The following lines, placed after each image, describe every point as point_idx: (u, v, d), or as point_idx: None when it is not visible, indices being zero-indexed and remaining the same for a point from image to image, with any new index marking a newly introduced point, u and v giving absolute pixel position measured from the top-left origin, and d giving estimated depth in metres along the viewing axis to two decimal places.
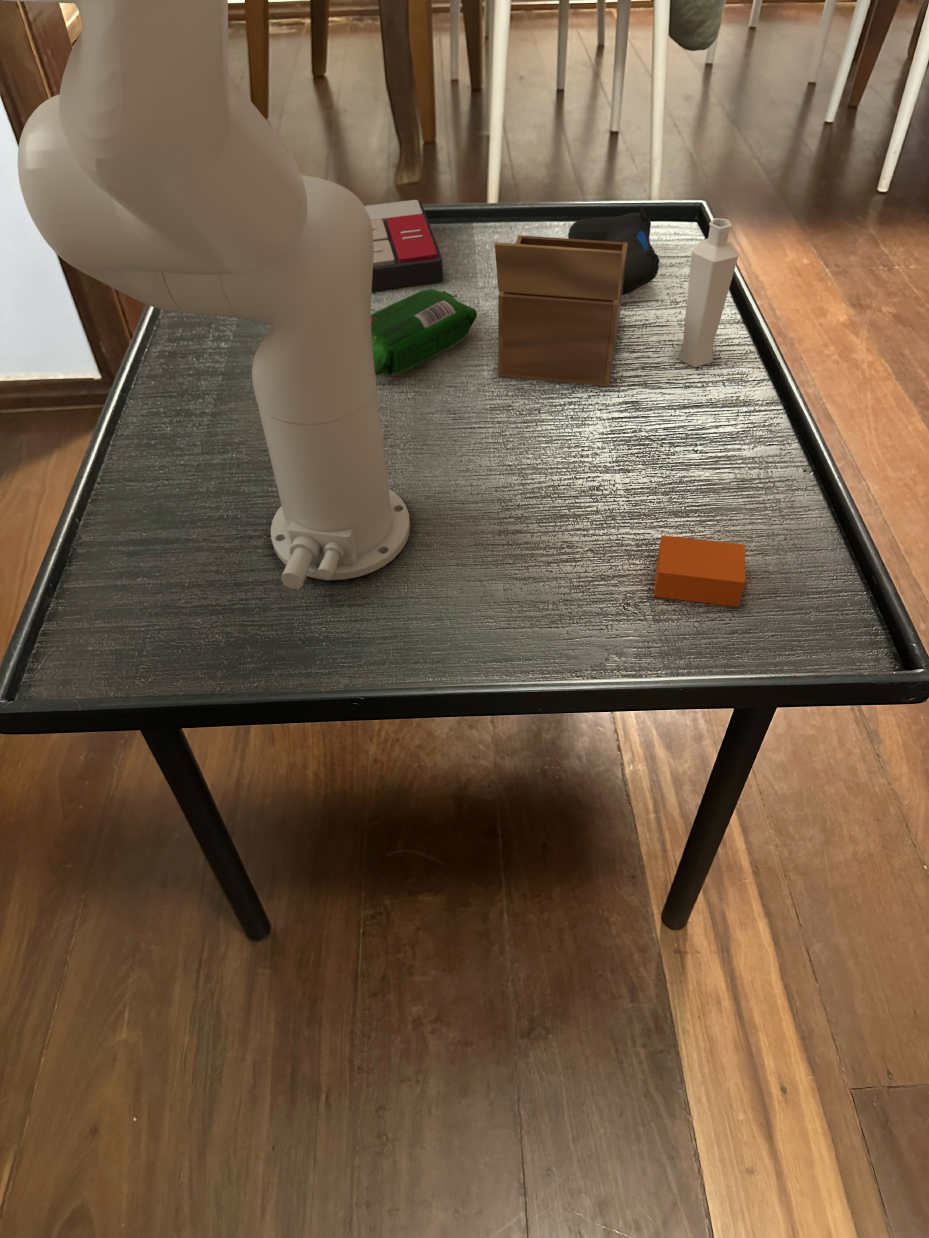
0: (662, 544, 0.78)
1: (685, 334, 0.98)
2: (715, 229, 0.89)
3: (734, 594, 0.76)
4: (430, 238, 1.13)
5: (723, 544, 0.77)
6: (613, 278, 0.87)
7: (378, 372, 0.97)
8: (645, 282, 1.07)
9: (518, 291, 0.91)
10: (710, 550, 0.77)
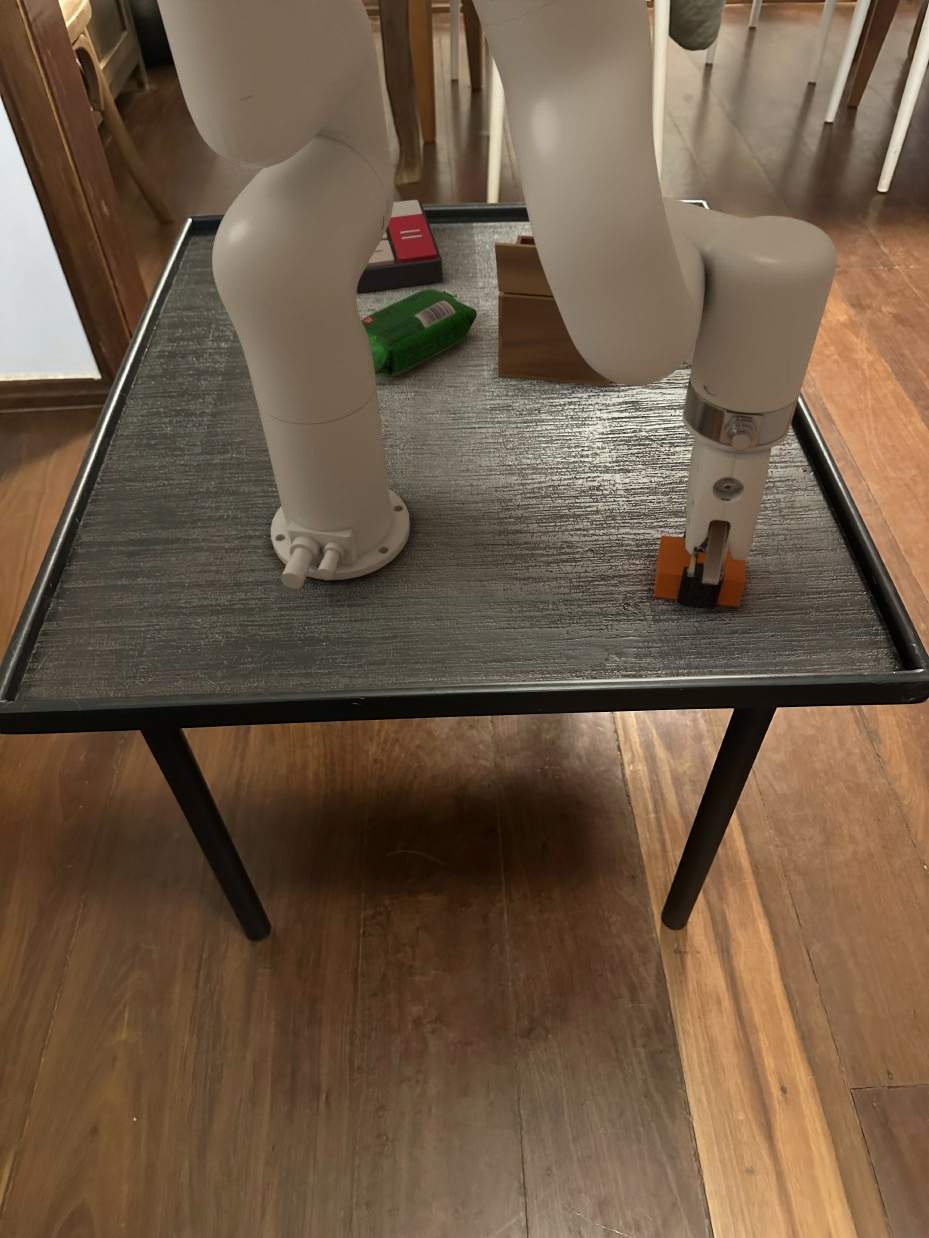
0: (662, 544, 0.78)
1: None
2: None
3: (734, 594, 0.76)
4: (430, 238, 1.13)
5: None
6: None
7: (378, 372, 0.97)
8: None
9: (518, 291, 0.91)
10: None
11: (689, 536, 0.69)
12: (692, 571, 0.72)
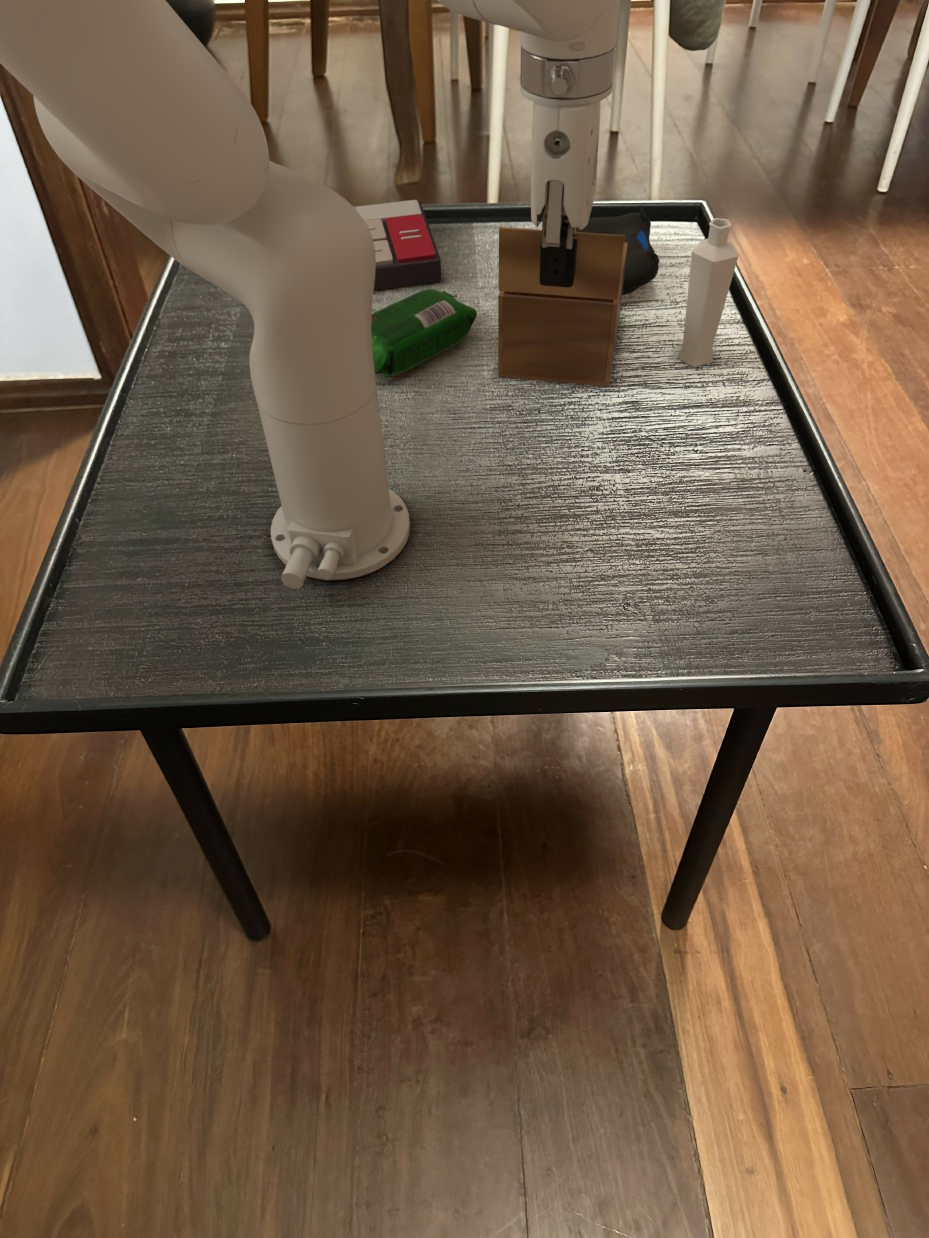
0: None
1: (685, 334, 0.98)
2: (715, 229, 0.89)
3: None
4: (429, 238, 1.13)
5: None
6: (614, 270, 0.88)
7: (378, 372, 0.97)
8: (645, 282, 1.07)
9: (518, 290, 0.91)
10: None
11: (532, 204, 0.78)
12: (545, 240, 0.83)
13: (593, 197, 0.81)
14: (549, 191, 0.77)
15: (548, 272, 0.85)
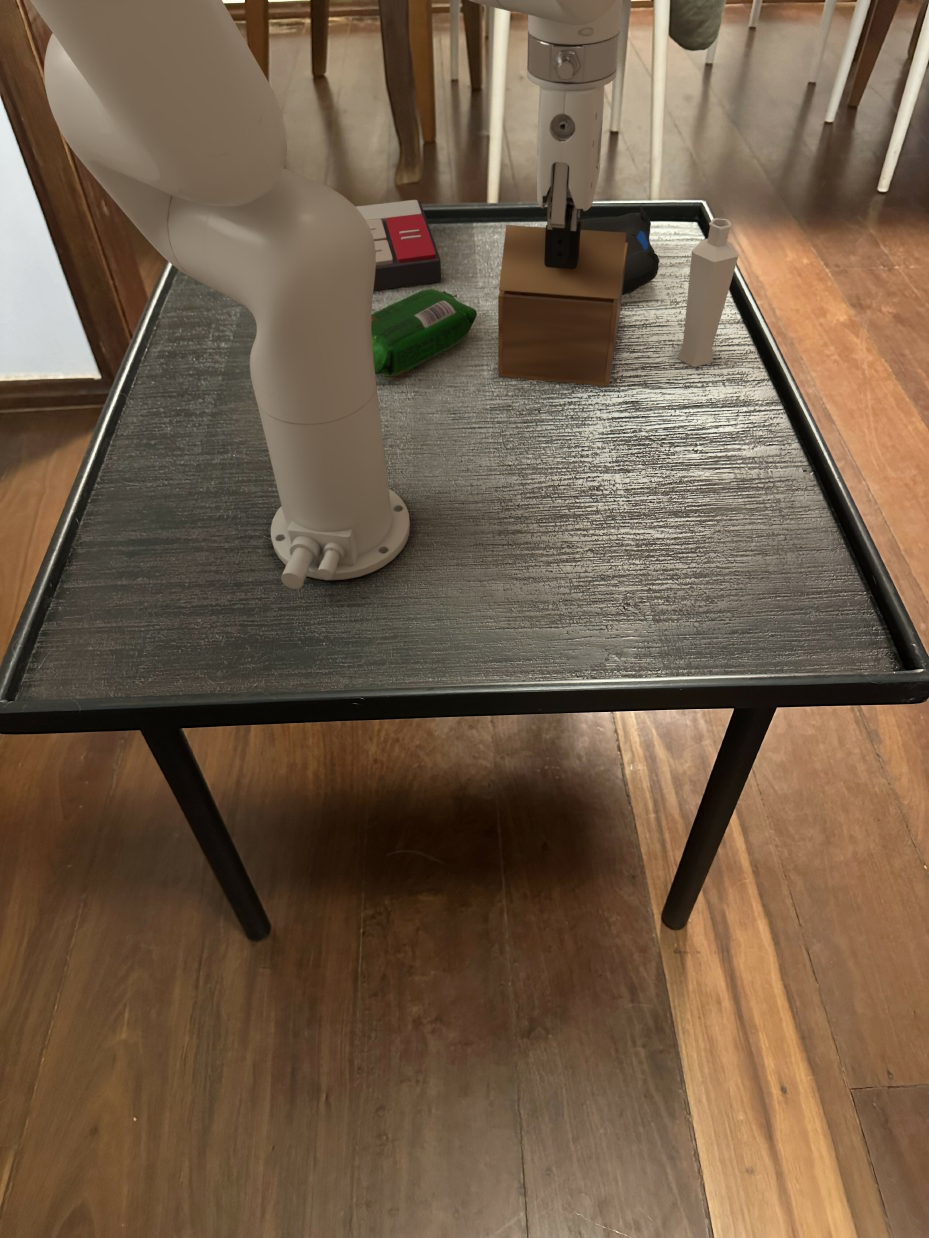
0: None
1: (685, 334, 0.98)
2: (715, 229, 0.89)
3: None
4: (429, 238, 1.13)
5: None
6: (615, 267, 0.90)
7: (378, 372, 0.97)
8: (645, 282, 1.07)
9: (518, 289, 0.91)
10: None
11: (538, 186, 0.80)
12: (550, 222, 0.85)
13: (597, 180, 0.84)
14: (554, 173, 0.79)
15: (553, 254, 0.88)
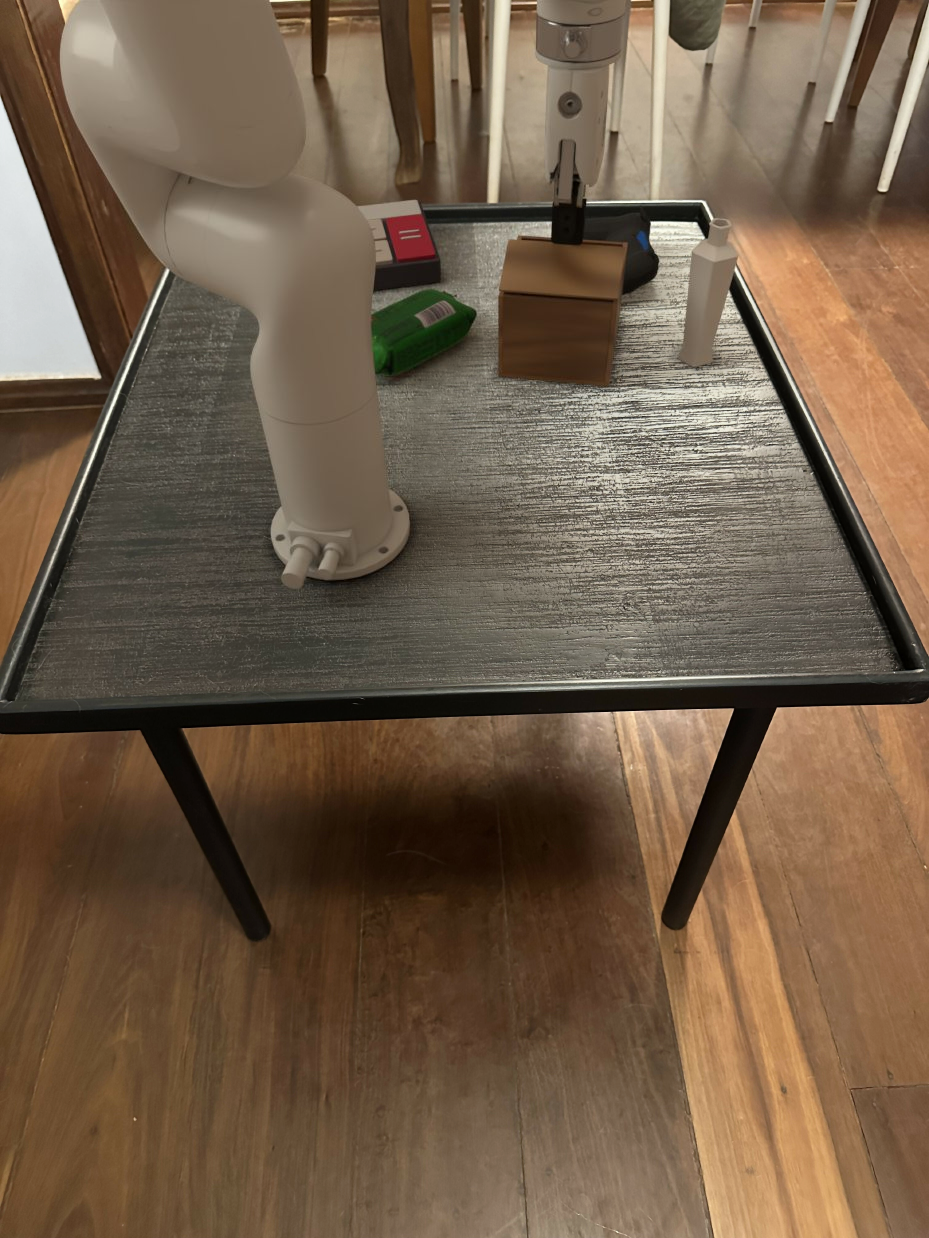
0: None
1: (685, 334, 0.98)
2: (715, 229, 0.89)
3: None
4: (429, 238, 1.13)
5: None
6: (615, 273, 0.91)
7: (378, 372, 0.97)
8: (645, 282, 1.07)
9: (518, 289, 0.92)
10: None
11: (545, 162, 0.83)
12: (557, 198, 0.89)
13: (602, 158, 0.87)
14: (562, 150, 0.83)
15: (559, 230, 0.91)
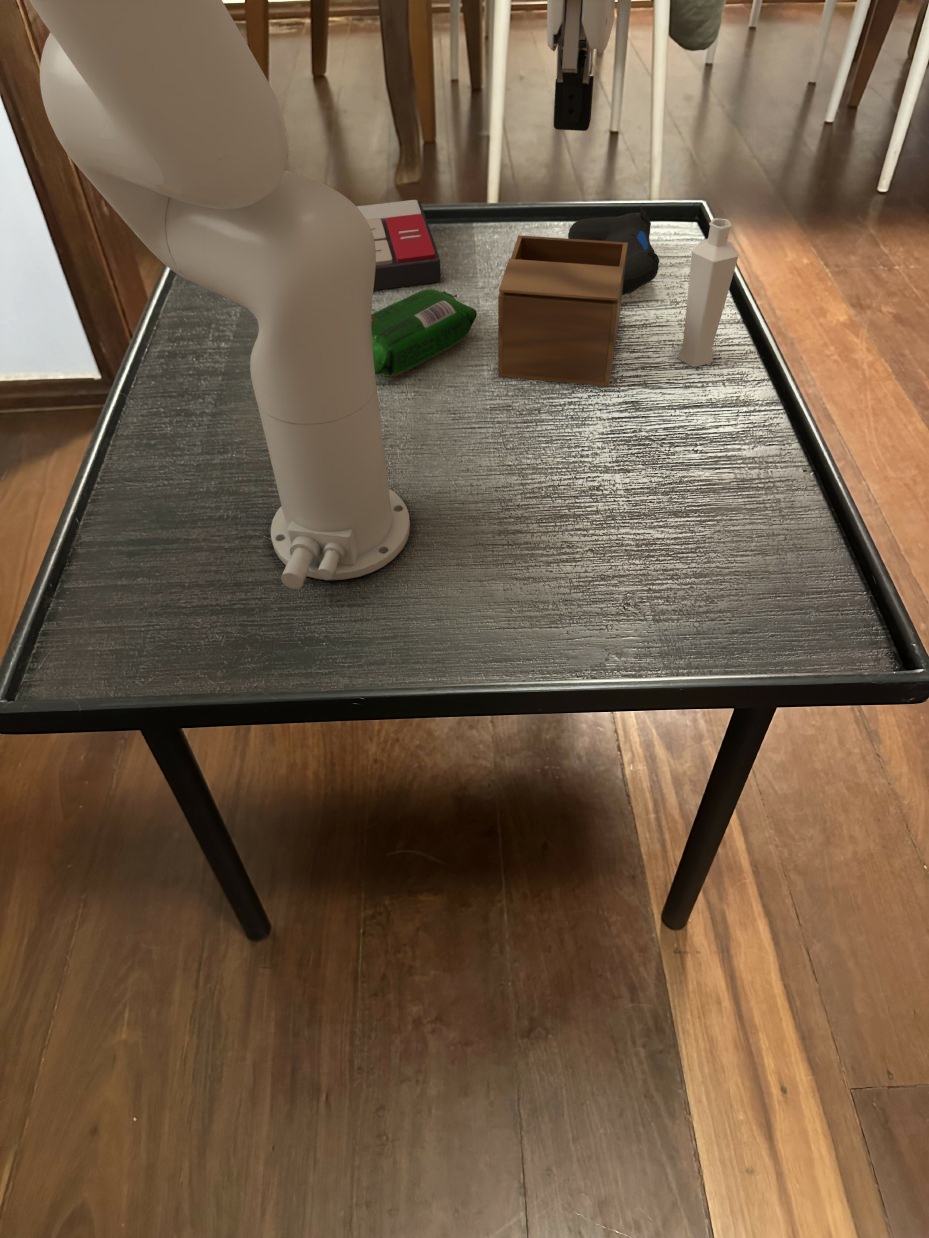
0: None
1: (685, 334, 0.98)
2: (715, 229, 0.89)
3: None
4: (428, 238, 1.13)
5: None
6: (614, 282, 0.92)
7: (378, 372, 0.97)
8: (645, 282, 1.07)
9: (519, 289, 0.92)
10: None
11: (548, 23, 0.74)
12: (561, 73, 0.79)
13: (611, 25, 0.77)
14: (567, 7, 0.73)
15: (563, 112, 0.81)
